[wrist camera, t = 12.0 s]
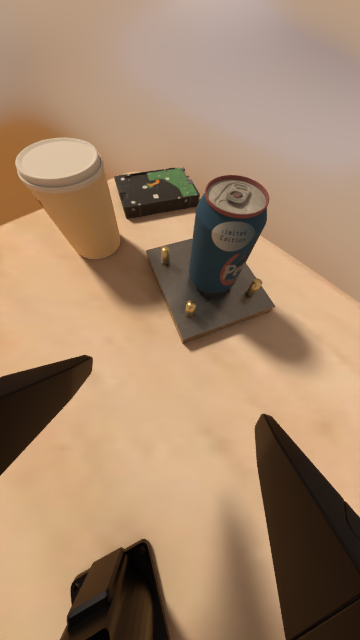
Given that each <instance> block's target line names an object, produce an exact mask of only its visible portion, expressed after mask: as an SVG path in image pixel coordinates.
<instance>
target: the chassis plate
mask: <svg viewBox="0 0 360 640" xmlns="http://www.w3.org/2000/svg"><path fill="white" fill-rule="evenodd" d="M192 241H193V239H189V240H185V241H181V242H177V243H173V244H169V245H165V246H162V247H158V248H154V249H150V250H146V253H147V258H148V260H149V263H150V265H151V268H152V270H153V272H154V275H155V277H156V280H157V282H158V285H159V287H160V289H161V292H162V294H163V297H164V299H165V302H166V304H167V307H168V309H169V311H170V314H171V316H172V319H173V321H174V324H175V326H176V329H177V331H178V333H179V336H180V338H181V341H182V343H185V342H188V341H190V340H193V339H196V338H198V337H201V336H204V335H207V334H209V333H212V332H215V331H217V330H220V329H223V328H226V327H228V326H231V325H234V324H236V323H239V322H242V321H245V320H247V319H250V318H253V317H255V316H258V315H261V314H264V313H266V312H269V311H271V310H272V309H273V308H274V307H275V305H274V304H273V302H272V301H271V299H270V298H269V296H268V295H267V293H266V292H265V290H264V289H263V288H262V286H261V285H262V281H261V280H260V279H256V277H255V276H254V274H253V273H252V271H251V270H250V269H249V267H248V266H247V264H246V263H245V265H244V266H243V268H242V270H241V272H240V274H239V276H238V278H237V280H236V282H235V284H234V285H233V286H232V287H231V288H229V289H228V290H226V291H223V292H220V293H207V292H204V291H202V290H200V289H199V288H198V287H197V286H196V285H195V284H194V283H193V282H192V280H191V278H190V275H189V265H190V257H191V249H192Z"/></svg>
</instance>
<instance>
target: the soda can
mask: <svg viewBox="0 0 360 640" xmlns="http://www.w3.org/2000/svg"><path fill="white" fill-rule="evenodd" d="M268 203H269V195H268V193H267V191H266V189H265V188H264V187H263V186H262V185H261V184H259V183H258V182H256V181H254V180H252V179H250V178H247V177H242V176H237V175H226V176H221V177H217V178H215V179H213V180H212V181H210V182H209V183H208V185H207V187H206V189H205V193H204V195H203V196H202V198H201V199H200V201H199V203H198V205H197V208H196V216H195V225H194V233H193V241H192V249H191V257H190V265H189V275H190V278H191V280H192V282H193V283H194V284H195V285H196V286H197V287H198V288H199V289H200V290H202V291H204V292H207V293H220V292H223V291H226V290H228V289H229V288H231V287H232V286H233V285H234V284H235V282H236V280H237V278H238V276H239V274H240V272H241V270H242V268H243V266H244V265H245V263H246V261H247V259H248V257H249V255H250V253H251V251H252V249H253V247H254V245H255V243H256V241H257V240H258V238H259V236H260V234H261V232H262V230H263V228H264V226H265V224H266V221H267V205H268Z"/></svg>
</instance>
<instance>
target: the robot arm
mask: <svg viewBox="0 0 360 640" xmlns="http://www.w3.org/2000/svg"><path fill="white" fill-rule="evenodd" d="M92 364H93V358H92V357H90V356H87V355H83V356H79V357H75V358H71V359H67V360H63V361H60V362H56V363H52V364H48V365H44V366H40V367H37V368H33V369H29V370H25V371H21V372H17V373H14V374H10V375H6V376H2V377H1V378H0V475H1V474H2V473H3V472H4V471H5V470H6V469H7V468H8V467H9V466H10V465H11V464H12V463H13V461H14V460H15V459H16V458H17V457H18V456H19V455H20V454H21V453H22V452H23V451H24V450H25V448H26V447H27V446H28V445H29V444H30V443H31V442H32V441H33V440H34V439H35V438H36V437H37V436H38V434H39V433H40V432H41V431H42V430H43V429H44V428H45V427H46V426H47V425H48V424H49V423H50V421H51V420H52V419H53V418H54V417H55V416H56V415H57V414H58V413H59V412H60V411H61V410H62V409H63V407H64V406H65V405H66V404H67V403H68V402H69V401H70V400H71V399H72V397H73V396H74V395H75V394H76V392H77V391H78V390H79V388H80V387H81V386H82V384H83V383H84V382H85V380H86V379H87V378H88V377H89V375H90V374H91V372H92ZM255 442H256V457H257V467H258V474H259V480H260V486H261V492H262V498H263V504H264V510H265V517H266V523H267V529H268V535H269V541H270V547H271V553H272V559H273V565H274V571H275V577H276V583H277V590H278V596H279V602H280V608H281V614H282V620H283V626H284V632H285V638H286V640H360V517H359V516H358V515H357V514H356V513H355V512H354V510H353V509H352V508H351V507H350V506H349V505H348V503H347V502H345V501H344V499H343V498H342V497H341V496H340V494H339V493H338V492H337V491H336V490H335V489H334V487H333V486H332V485H331V484H330V483H329V482H328V481H327V479H326V478H325V477H324V476H323V475H322V474H321V473H320V471H319V470H318V469H317V468H316V467H315V466H314V464H313V463H312V462H311V461H310V460H309V459H308V458H307V456H306V455H305V454H304V453H303V452H302V451H301V450H300V448H299V447H298V446H297V445H296V444H295V443H294V441H293V440H292V439H291V438H290V437H289V436H288V435H287V433H286V432H285V431H284V430H283V429H282V428H281V427H280V425H279V424H278V423H277V422H276V421H275V420H274V418H273V417H272V416H270V415H267V414H261V416H260V418H259V420H258V421H257V423H256V425H255ZM142 546H144V547H145V550H144V551H142V550H141V549H140V548H141V547H142ZM76 583H79V584H80V588H78V587H77V586H76ZM71 602H72V607H71V609H70V611H69V613H68V615H67V626H66V628H65V630H64V632H63V634H62V636H61V639H60V640H170V636H169V632H168V627H167V623H166V619H165V614H164V610H163V605H162V601H161V596H160V592H159V588H158V583H157V579H156V574H155V570H154V565H153V561H152V557H151V552H150V548H149V544H148V541H147V540H146V539H142V540H140V541H138V542H136V543H135V544H133V545H131V546H129V547H127V548H126V549H124V548H119V549H117V550H115V551H113V552H112V553H110V554H108V555H106V556H104V557H103V558H101V559H99V560H97V561H95V562H94V563H93V564H92V566H91V568H90V569H88V570H86V571H84V572H83V573H81V574H79V575H78V576H76V578H75V579H74V581H73V583H72V585H71Z"/></svg>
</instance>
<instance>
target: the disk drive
mask: <svg viewBox="0 0 360 640" xmlns="http://www.w3.org/2000/svg"><path fill="white" fill-rule="evenodd" d="M114 178H115V182H116V186H117V189H118V192H119V196H120V199H121V202H122V206H123V209H124V212H125V216H126V218H127V219H129V218H135V217H141V216H145V215H151V214H156V213H162V212H167V211H172V210H178V209H185V208H190V207H195V206H197V205H198V203H199V197H200V194H199V192H198V190H197V189H196V187H195V186H194V184H193V182H192V180H191V179H190V178H189V176H188V175H187V173H186V172H185V169H184V168H169V169H163V170H156V171H149V172H141V173H134V174H126V175H120V176H115V177H114Z"/></svg>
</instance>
